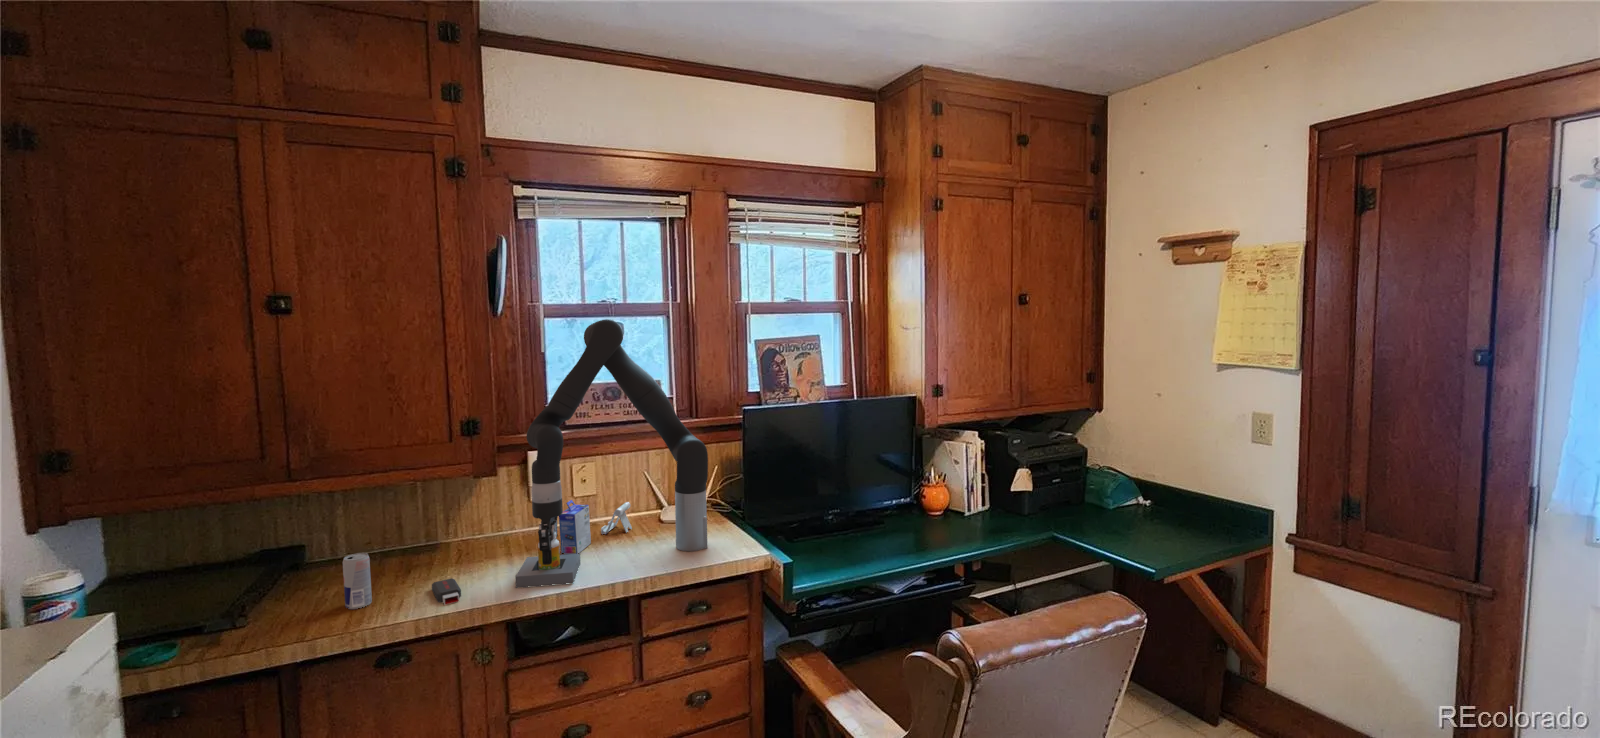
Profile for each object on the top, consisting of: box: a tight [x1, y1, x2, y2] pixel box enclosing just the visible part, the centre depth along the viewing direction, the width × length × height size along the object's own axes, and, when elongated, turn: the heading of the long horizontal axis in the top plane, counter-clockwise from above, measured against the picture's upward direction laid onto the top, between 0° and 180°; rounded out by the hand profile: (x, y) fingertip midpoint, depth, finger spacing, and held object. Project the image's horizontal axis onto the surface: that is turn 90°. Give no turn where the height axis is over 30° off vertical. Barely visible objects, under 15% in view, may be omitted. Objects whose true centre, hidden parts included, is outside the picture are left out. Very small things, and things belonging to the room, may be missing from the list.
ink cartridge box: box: [558, 499, 592, 555], centre depth 197 cm, size 10×6×14 cm, turn 174°
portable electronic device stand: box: [600, 501, 633, 535], centre depth 214 cm, size 9×8×8 cm
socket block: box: [515, 553, 581, 589], centre depth 177 cm, size 14×14×3 cm
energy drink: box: [342, 552, 373, 610], centre depth 159 cm, size 5×5×12 cm
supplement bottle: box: [537, 531, 561, 570], centre depth 177 cm, size 5×5×10 cm
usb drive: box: [431, 577, 462, 606], centre depth 165 cm, size 5×12×3 cm, turn 37°
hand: (549, 559), depth 177 cm, fingers closed on supplement bottle, 5 cm apart
